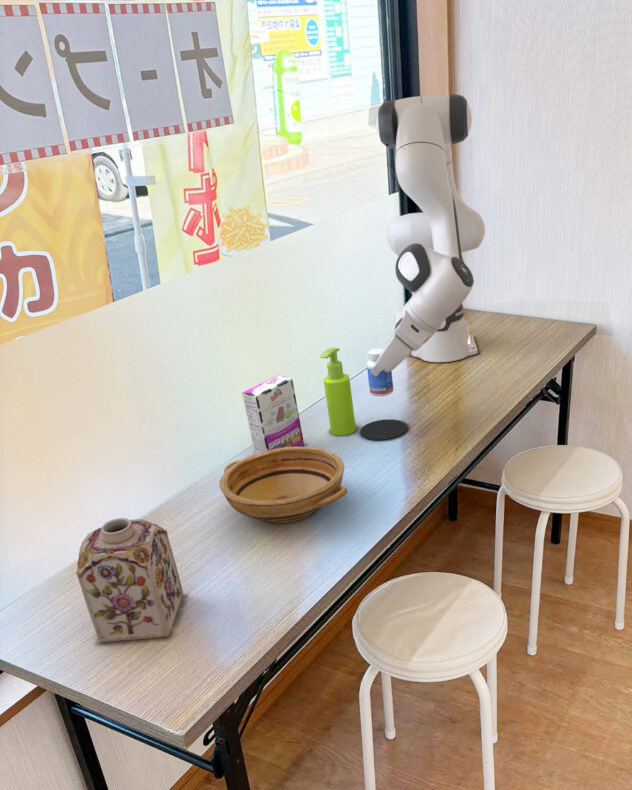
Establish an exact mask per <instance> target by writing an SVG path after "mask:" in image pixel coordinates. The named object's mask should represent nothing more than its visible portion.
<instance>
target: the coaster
mask: <svg viewBox="0 0 632 790" xmlns="http://www.w3.org/2000/svg"><path fill="white" fill-rule="evenodd" d="M407 432H408V425H407V423H406V422H404V421H402V420H398V419H378V420H375V421H371V422H369V423H367V424H365V425H363V426H362V427H361V428H360V431H359V433H360V435H361V437H362V438H363V439H365V440H369V441H376V442H379V441H381V442H383V441H390V440H394V439H397V438H400V437H402V436H403V435H405V434H406V433H407Z"/></svg>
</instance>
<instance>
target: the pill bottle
mask: <svg viewBox="0 0 632 790" xmlns="http://www.w3.org/2000/svg"><path fill="white" fill-rule="evenodd" d="M383 349H384V348H372V349H370V350H369V351H368V358H369V360H368V361H367V363H366V370H367V378H368V388H369V393H370V395H372V396H374V397H385V396H388V395H391V394H392V393H393V392H394V382H393V372H392V371H393V370H392V371H390V372H388V373H387V372H385V371H384V370H383V371H381V372H380V373H379V374H378V375H377V376H374V375H373V374H372V373H371V370H372V368H373V367H374V366H375V365H376V364H377V363H376V361H377V359H378V358H379V356H380V354H381V352H382V350H383Z"/></svg>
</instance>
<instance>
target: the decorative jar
mask: <svg viewBox="0 0 632 790" xmlns="http://www.w3.org/2000/svg"><path fill="white" fill-rule="evenodd" d="M76 565H77V568H76V572H75V575H76V576H77V579H78V583H79V586H80V589H81V592H82V595H83V599H84V603H85V605H86V608H87V611H88V614H89V617H90V620H91V623H92V626H93V628H94V632H95V634H96V637H97V640H98V641H99V643H100V644H101V643H108V642H109V643H110V642H123V641H133V640H146V639H155V638H165V637H169V636H170V633H171V632H172V628H173V625H174V623H175V620H176V618H177V617H176V616H177V614H178V612H179V609H180V606H181V603H182V600H183V597H184V591H183V586H182V582H181V578H180V574H179V571H178V566H177V562H176V559H175V556H174V552H173V548H172V545H171V542H170V539H169V535H168V530H166V529H164V528H163V527H161V526H159V525H158V524H156V523H152V522H150V521H148V520H146V519H143V518H135V519H129V518H127V517H118V518H114V519H111V520H108V521H107V522H105V523H104V524H103V525H102V526H101V527H98V528H96V529H94V530H93V531H91V532H89V533H87V535H86V536H85V538H84V539H83V540H82V541H81V544H80V546H79V551H78V558H77V563H76Z"/></svg>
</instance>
